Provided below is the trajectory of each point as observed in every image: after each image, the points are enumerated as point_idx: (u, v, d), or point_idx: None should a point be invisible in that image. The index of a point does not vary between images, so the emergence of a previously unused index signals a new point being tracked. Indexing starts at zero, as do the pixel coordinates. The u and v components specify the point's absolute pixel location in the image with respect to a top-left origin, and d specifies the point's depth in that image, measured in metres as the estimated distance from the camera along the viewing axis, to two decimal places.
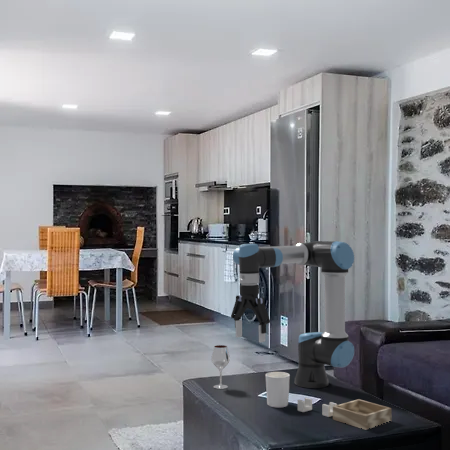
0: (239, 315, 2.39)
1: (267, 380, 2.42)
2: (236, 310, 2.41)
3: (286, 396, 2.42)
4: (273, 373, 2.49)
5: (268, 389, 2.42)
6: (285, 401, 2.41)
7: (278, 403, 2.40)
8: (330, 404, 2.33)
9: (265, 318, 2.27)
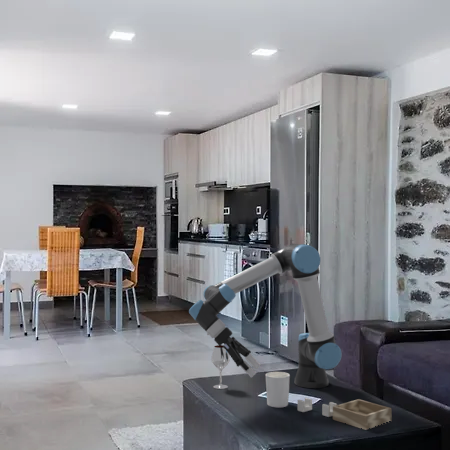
0: (242, 353, 2.53)
1: (267, 380, 2.42)
2: None
3: (286, 396, 2.42)
4: (273, 373, 2.49)
5: (268, 389, 2.42)
6: (285, 401, 2.41)
7: (278, 403, 2.40)
8: (330, 404, 2.33)
9: (235, 360, 2.38)
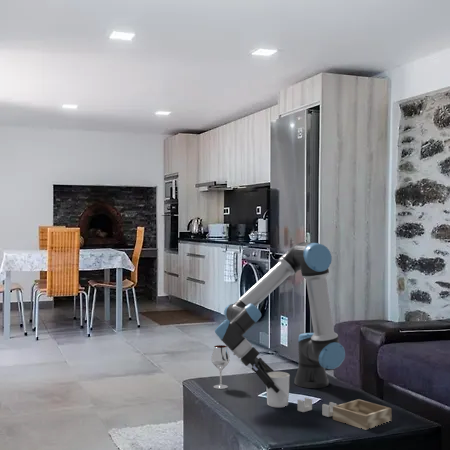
0: None
1: None
2: None
3: (286, 396, 2.42)
4: (273, 373, 2.49)
5: (268, 389, 2.42)
6: (285, 401, 2.41)
7: (278, 403, 2.40)
8: (330, 404, 2.33)
9: (266, 383, 2.37)
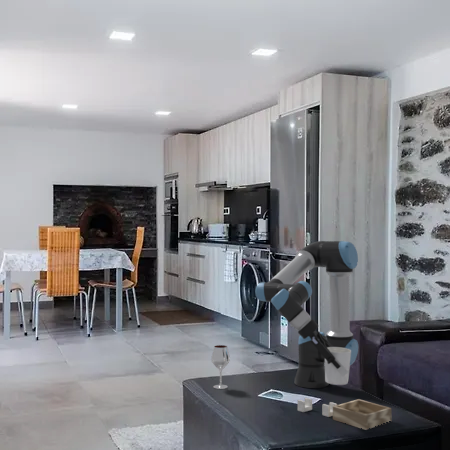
0: None
1: None
2: None
3: (347, 373, 2.23)
4: (332, 348, 2.31)
5: (327, 365, 2.24)
6: (345, 378, 2.23)
7: (338, 380, 2.22)
8: (330, 404, 2.33)
9: (326, 357, 2.19)
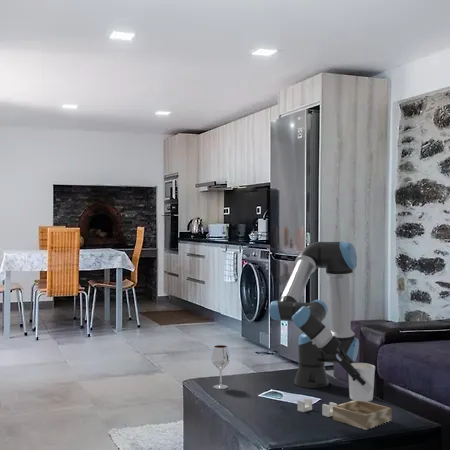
0: None
1: None
2: None
3: None
4: (355, 364, 2.29)
5: (352, 381, 2.22)
6: (371, 395, 2.21)
7: (363, 397, 2.20)
8: (330, 404, 2.33)
9: (351, 374, 2.17)
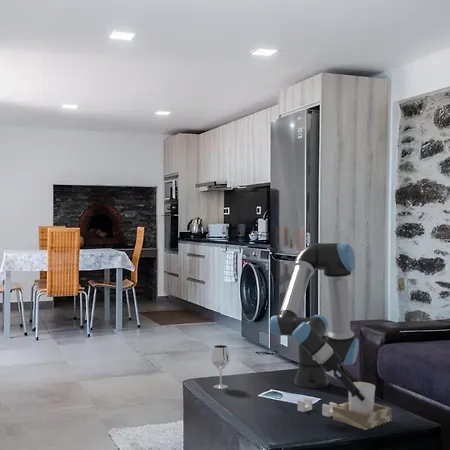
0: (351, 380, 2.30)
1: None
2: None
3: (372, 409, 2.22)
4: (355, 383, 2.29)
5: (352, 401, 2.22)
6: None
7: None
8: (330, 404, 2.33)
9: (350, 390, 2.17)
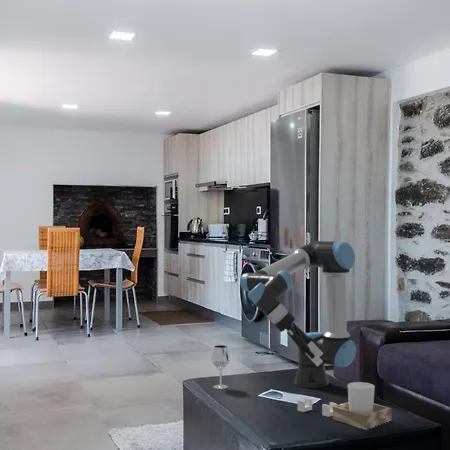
0: (304, 340, 2.37)
1: (351, 392, 2.22)
2: None
3: (371, 409, 2.22)
4: (354, 384, 2.29)
5: (352, 401, 2.22)
6: None
7: None
8: (330, 404, 2.33)
9: (301, 347, 2.22)
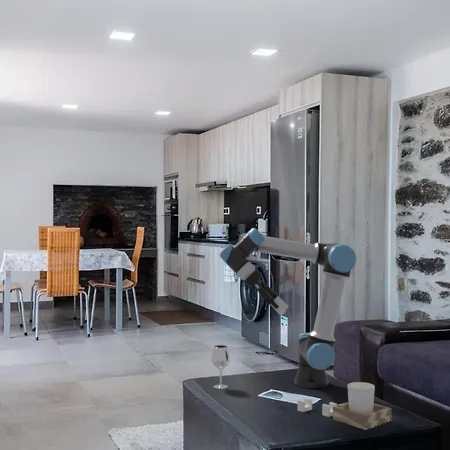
0: (271, 295, 2.63)
1: (351, 392, 2.22)
2: None
3: (371, 409, 2.22)
4: (354, 384, 2.29)
5: (352, 401, 2.22)
6: None
7: None
8: (330, 404, 2.33)
9: (266, 299, 2.48)
